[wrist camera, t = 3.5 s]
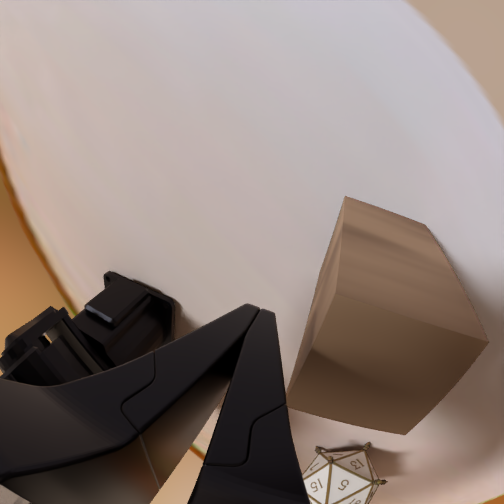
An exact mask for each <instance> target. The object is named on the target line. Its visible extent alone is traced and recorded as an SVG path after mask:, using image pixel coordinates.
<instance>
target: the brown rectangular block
mask: <svg viewBox="0 0 504 504" xmlns="http://www.w3.org/2000/svg"><path fill="white" fill-rule="evenodd" d="M488 343H489V341H488V339H487V336H486V334H485V332H484V329H483V327H482V325H481V323H480V321H479V319H478V316H477V314H476V312H475V310H474V308H473V306H472V304H471V302H470V300H469V298H468V296H467V294H466V292H465V290H464V289H463V287H462V285H461V283H460V281H459V279H458V278H457V276H456V274H455V272H454V270H453V269H452V267H451V265H450V263H449V262H448V260H447V258H446V257H445V255H444V253H443V252H442V250H441V248H440V247H439V245H438V244H437V242H436V240H435V239H434V237H433V236H432V234H431V233H430V231H429V230H428V228H427V227H426V225H424V224H422V223H419V222H417V221H414V220H412V219H409V218H406V217H404V216H401V215H398V214H396V213H393V212H390V211H387V210H385V209H382V208H379V207H376V206H373V205H371V204H368V203H365V202H362V201H359V200H356V199H353V198H350V197H347V196H345V197H344V201H343V204H342V207H341V210H340V213H339V217H338V220H337V223H336V226H335V229H334V232H333V235H332V238H331V241H330V244H329V247H328V250H327V253H326V256H325V259H324V262H323V264H322V267H321V270H320V273H319V277H318V282H317V286H316V290H315V294H314V298H313V302H312V306H311V309H310V313H309V317H308V321H307V325H306V328H305V332H304V335H303V339H302V343H301V346H300V350H299V353H298V357H297V360H296V363H295V367H294V370H293V373H292V377H291V380H290V383H289V386H288V390H287V393H286V401H287V404H286V405H287V407H289V408H292V409H295V410H299V411H302V412H305V413H309V414H312V415H316V416H319V417H323V418H327V419H331V420H335V421H338V422H343V423H347V424H351V425H355V426H360V427H364V428H369V429H374V430H379V431H384V432H389V433H395V434H401V435H406V434H407V433H408V432H409V431H410V430H411V429H413V428H414V427H415V426H416V425H417V424H418V423H419V422H420V421H421V420H422V419H423V418H424V417H425V416H426V415H427V414H428V413H429V412H430V411H431V410H432V409H433V408H434V407H435V406H436V405H437V404H438V403H439V402H440V401H441V400H442V399H443V398H444V397H445V396H446V395H447V393H448V392H449V391H450V390H451V389H452V388H453V387H454V386H455V384H456V383H457V382H458V381H459V380H460V379H461V377H462V376H463V375H464V374H465V373H466V371H467V370H468V369H469V368H470V367H471V365H472V364H473V363H474V362H475V360H476V359H477V358H478V356H479V355H480V354H481V352H482V351H483V350H484V348H485V347H486V346H487V344H488Z"/></svg>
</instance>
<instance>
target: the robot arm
mask: <svg viewBox="0 0 504 504" xmlns="http://www.w3.org/2000/svg"><path fill="white" fill-rule="evenodd" d="M104 285H105V289H104V290H103V291H102V292H100V293H99V294H98V295H97V296H95V297H94V298H93V299H92V300H90V301H89V302H88V303H87V304H85V309H84V310H82V311H81V312H80V313H79V314H77V315H76V316H75V317H74V318H73V319H71V318H70V317H69V315H68V312H67V310H66V309H65V308H64V307H63V308H61V309H60V310H59V311H58V310H56V309H54V308H53V307H51V306H50V307H49V308H47V309H46V310H45V311H43V312H42V313H41V314H39V315H38V316H37V317H35V318H34V319H33V320H31V321H29V322H28V323H26V324H25V325H23V326H22V327H20V328H19V329H17V330H15V331H14V332H12V333H11V334H9V335H8V336H7V337H6V339H5V350H4V351H3V352H2V354H1V355H2V357H1V358H0V369H1V371H2V373H3V375H1V376H0V504H150V503H151V501H152V500H153V498H154V497H155V496H156V494H157V493H158V491H159V489H161V487H162V486H163V485H164V483H165V482H166V480H167V479H168V478H169V476H170V475H171V473H172V472H173V471H174V469H175V467H176V466H177V465H178V463H179V462H180V460H181V459H182V458H183V456H184V455H185V453H186V452H187V450H188V449H189V447H190V446H191V444H192V443H193V442H194V440H195V439H196V437H197V436H198V434H199V433H200V431H201V430H202V428H203V427H204V425H205V424H206V422H207V420H208V419H209V417H210V416H211V414H212V413H213V411H214V410H215V408H216V407H217V405H218V403H219V402H220V400H221V399H222V397H223V396H224V394H225V393H226V391H227V393H226V396H225V399H224V402H223V405H222V408H221V411H220V414H219V417H218V420H217V423H216V426H215V429H214V432H213V435H212V438H211V441H210V444H209V447H208V450H207V453H206V456H205V459H204V462H203V466H202V468H201V470H200V473H199V476H198V479H197V481H196V484H195V487H194V489H193V492H192V494H191V496H190V498H189V501H188V503H187V504H311V503H310V500H309V497H308V494H307V490H306V487H305V483H304V480H303V476H302V473H301V469H300V466H299V462H298V459H297V455H296V452H295V447H294V443H293V439H292V435H291V429H290V422H289V416H288V408H287V405H286V404H287V401H286V393H285V385H284V377H283V369H282V362H281V354H280V346H279V339H278V331H277V324H276V316H275V313H274V312H271V311H268V310H266V309H261V310H260V308H259V307H257V306H254V305H251V304H248V303H247V304H244V305H242V306H240V307H239V308H237V309H235V310H233V311H231V312H229V313H227V314H225V315H223V316H221V317H220V318H218V319H216V320H214V321H212V322H210V323H208V324H206V325H204V326H202V327H200V328H198V329H196V330H194V331H192V332H190V333H188V334H186V335H184V336H182V337H180V338H178V339H176V340H174V316H175V303H174V302H173V300H172V299H170V298H169V297H166V296H164V295H162V294H159V293H157V292H155V291H152V290H150V289H148V288H146V287H143V286H141V285H139V284H137V283H134V282H132V281H130V280H128V279H126V278H124V277H121V276H119V275H117V274H115V273H113V272H111V271H108V272H106V273H105V274H104ZM167 304H168V305H167ZM46 334H47V335H48V337H49V338H50V340H51V341H52V343H50V342H49V341H48V340H47V339H46V337H45V335H46ZM227 389H228V390H227Z"/></svg>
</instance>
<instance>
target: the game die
mask: <svg viewBox="0 0 504 504" xmlns="http://www.w3.org/2000/svg"><path fill="white" fill-rule="evenodd" d="M363 447H364V448H363V449H362V450H352V451H339V452H321V450H320V448H318V447H316V450H315V451H316V453H318V456H317V457H316V458H315V459H314V461H313V462H312V463H311V465H310V466H309V467H308V468H307V470H306V471H305V472H304V473H303V475H302V476H303V480H304V483H305V487H306V490H307V494H308V497H309V500H310V503H311V504H369V502H370V500H371V498H372V497H373V495H374V493H375V492H376V490H377V488H378V486H379V484H381V485H382V484H383V485H384V484H385V483H387V482H388V481H386V480H379V478H378V476H377V474H376V472H375V470H374V467H373V465H372V463H371V461H370V459H369V457H368V455H367V452H366V450H367V449H369V447H370V442H368V443H367V444H365V446H363Z"/></svg>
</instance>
